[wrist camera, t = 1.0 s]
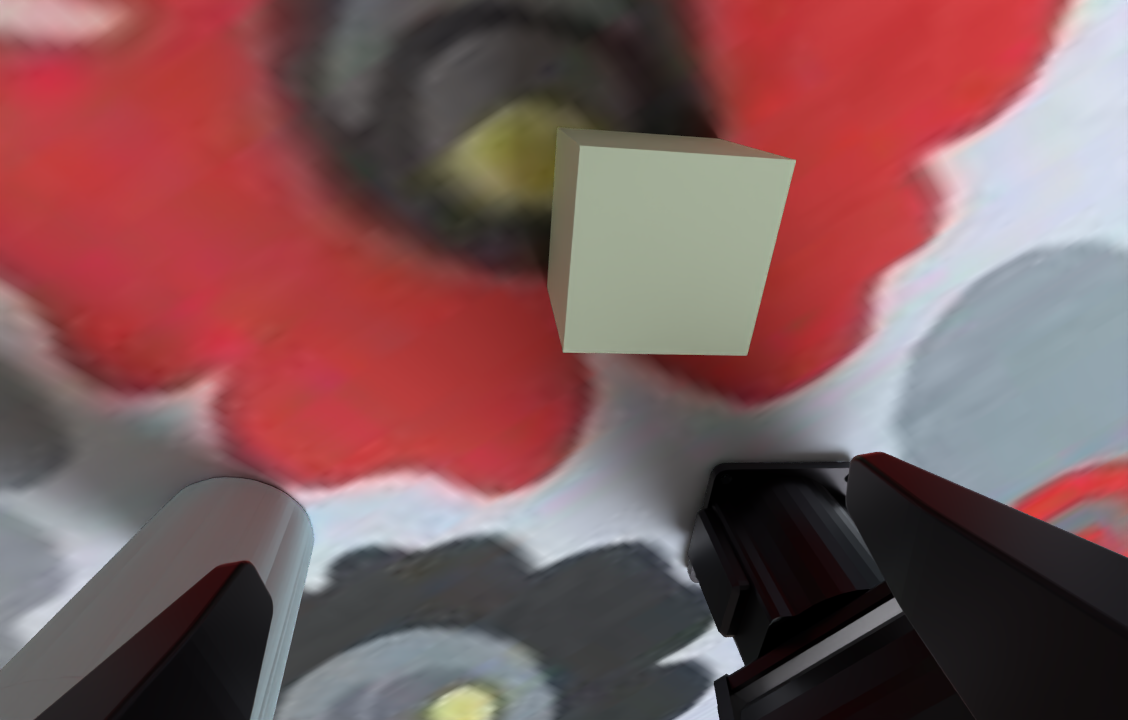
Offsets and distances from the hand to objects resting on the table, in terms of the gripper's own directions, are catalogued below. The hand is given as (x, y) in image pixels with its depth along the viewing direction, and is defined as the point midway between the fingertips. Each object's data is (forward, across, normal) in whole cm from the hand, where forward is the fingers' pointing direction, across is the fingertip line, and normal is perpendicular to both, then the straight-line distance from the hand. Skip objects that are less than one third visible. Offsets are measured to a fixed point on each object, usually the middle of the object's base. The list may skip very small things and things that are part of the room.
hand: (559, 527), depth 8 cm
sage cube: (+12, -4, -2) cm, 12 cm away
